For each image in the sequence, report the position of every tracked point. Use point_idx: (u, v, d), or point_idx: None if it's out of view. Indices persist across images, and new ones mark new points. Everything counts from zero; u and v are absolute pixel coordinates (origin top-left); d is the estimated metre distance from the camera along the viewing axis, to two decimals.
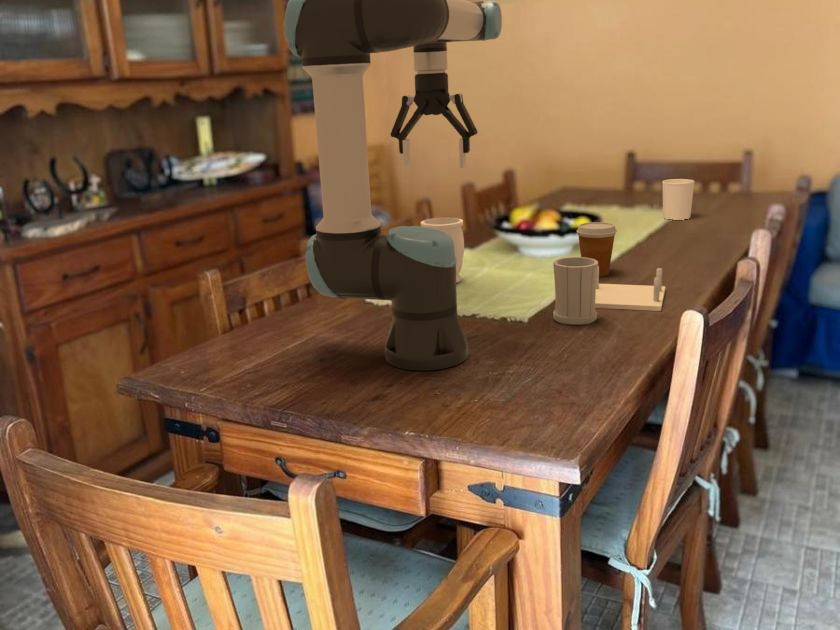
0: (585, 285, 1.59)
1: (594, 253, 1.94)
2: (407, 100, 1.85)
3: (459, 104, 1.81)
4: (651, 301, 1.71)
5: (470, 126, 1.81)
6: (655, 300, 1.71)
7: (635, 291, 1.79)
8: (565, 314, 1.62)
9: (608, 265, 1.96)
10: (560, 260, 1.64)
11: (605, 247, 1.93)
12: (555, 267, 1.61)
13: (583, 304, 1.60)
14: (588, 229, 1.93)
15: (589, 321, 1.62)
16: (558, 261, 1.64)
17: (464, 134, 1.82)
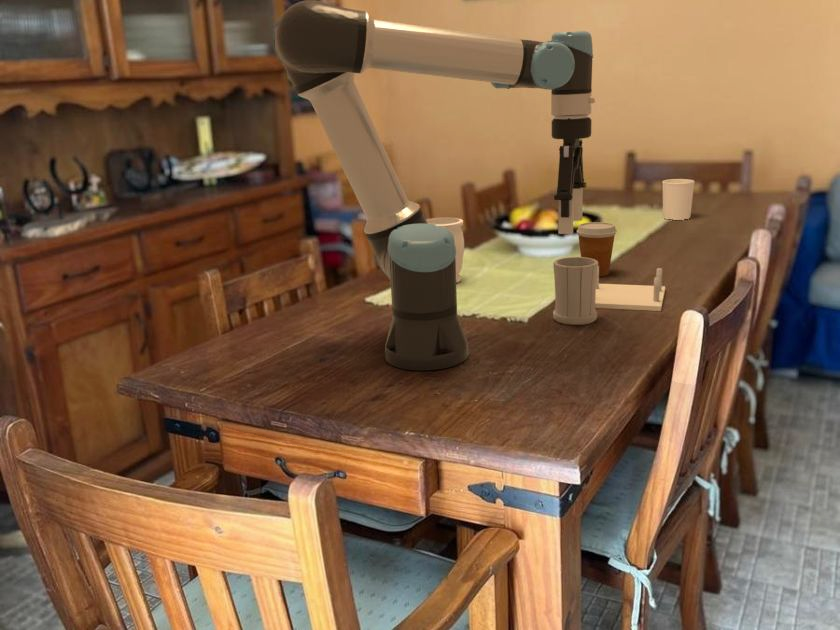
0: (585, 285, 1.59)
1: (594, 253, 1.94)
2: None
3: (559, 159, 1.51)
4: (651, 301, 1.71)
5: None
6: (655, 300, 1.71)
7: (635, 291, 1.79)
8: (565, 314, 1.62)
9: (608, 265, 1.96)
10: (560, 260, 1.64)
11: (605, 247, 1.93)
12: (555, 267, 1.61)
13: (583, 304, 1.60)
14: (588, 229, 1.93)
15: (589, 321, 1.62)
16: (558, 261, 1.64)
17: None
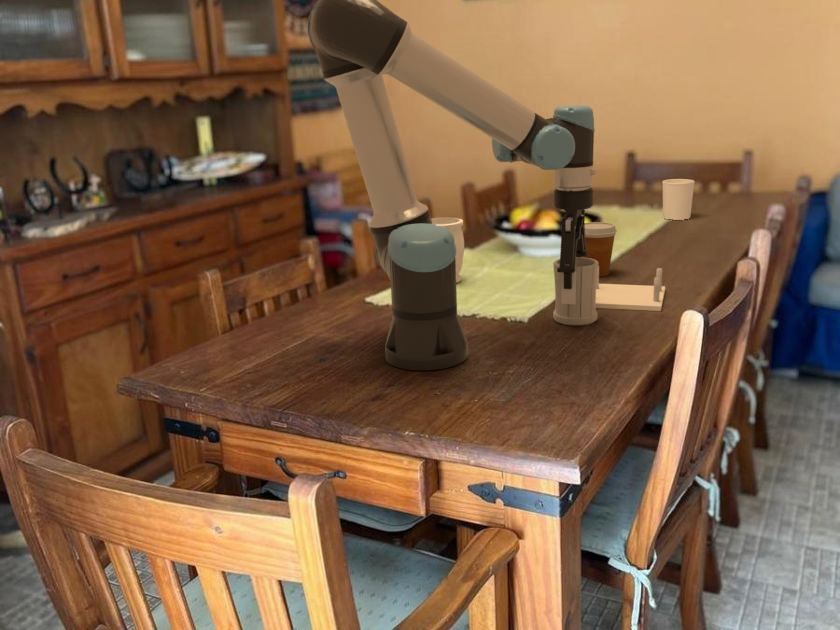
0: (586, 286, 1.59)
1: (594, 253, 1.94)
2: None
3: None
4: (651, 301, 1.71)
5: (560, 260, 1.55)
6: (655, 300, 1.71)
7: (635, 291, 1.79)
8: (565, 315, 1.61)
9: (608, 265, 1.96)
10: None
11: (605, 247, 1.93)
12: (555, 267, 1.61)
13: (583, 304, 1.60)
14: (588, 229, 1.93)
15: (589, 321, 1.61)
16: (558, 261, 1.64)
17: None
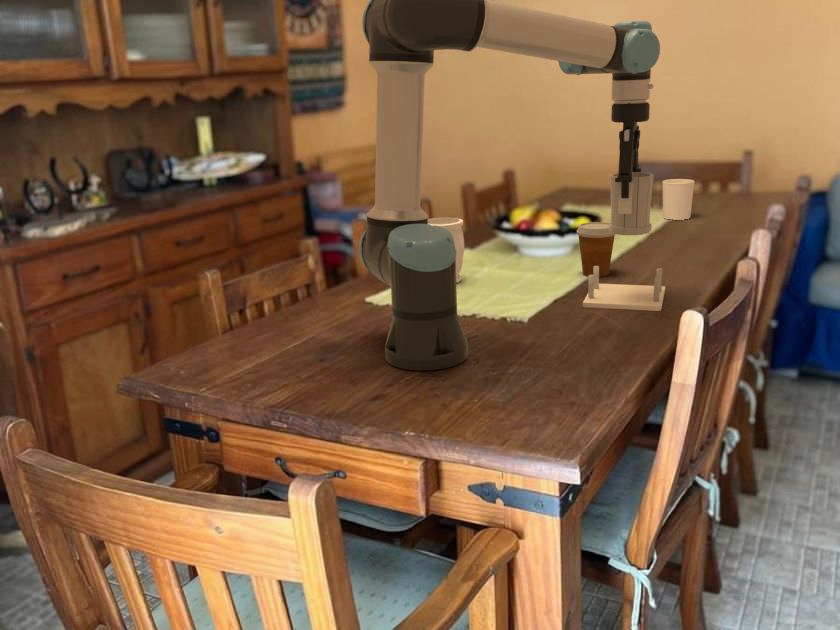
0: (642, 196, 1.66)
1: (594, 253, 1.94)
2: None
3: (620, 142, 1.62)
4: (651, 301, 1.71)
5: None
6: (655, 300, 1.71)
7: (635, 291, 1.79)
8: (621, 225, 1.68)
9: (608, 265, 1.96)
10: (616, 174, 1.71)
11: (605, 247, 1.93)
12: (612, 179, 1.67)
13: (639, 215, 1.67)
14: (588, 229, 1.93)
15: (645, 232, 1.68)
16: (614, 175, 1.70)
17: None
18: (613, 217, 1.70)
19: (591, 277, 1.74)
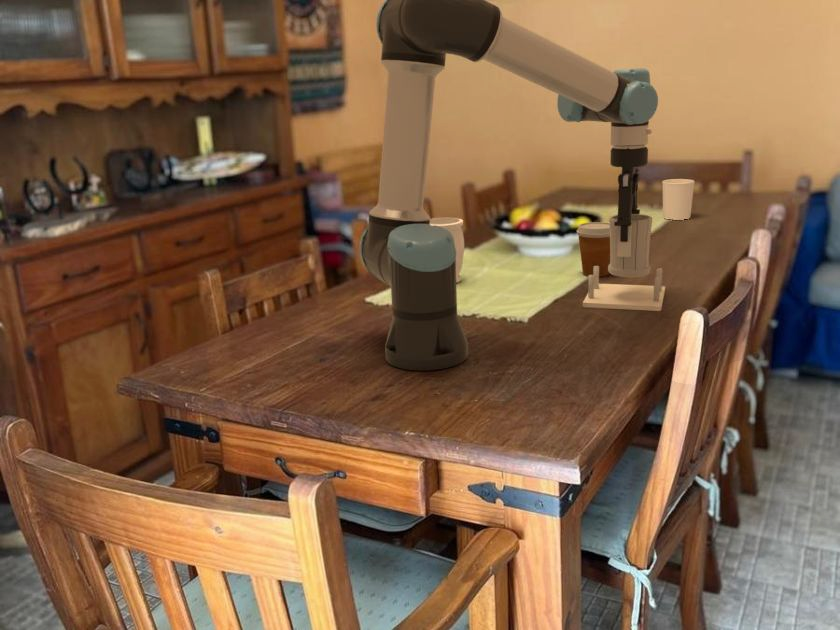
0: (641, 239, 1.68)
1: (594, 253, 1.94)
2: None
3: (619, 187, 1.64)
4: (651, 301, 1.71)
5: None
6: (655, 300, 1.71)
7: (635, 291, 1.79)
8: (620, 267, 1.71)
9: None
10: (615, 216, 1.74)
11: (605, 247, 1.93)
12: (611, 222, 1.70)
13: (638, 257, 1.69)
14: (588, 229, 1.93)
15: (644, 273, 1.71)
16: (613, 217, 1.73)
17: None
18: (612, 259, 1.72)
19: (591, 277, 1.74)
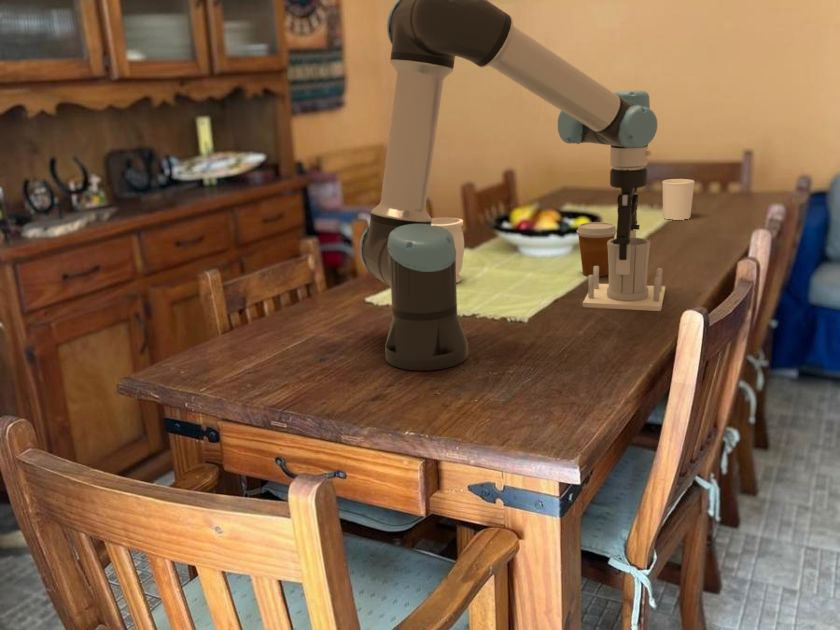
0: (639, 263, 1.70)
1: (594, 253, 1.94)
2: None
3: (618, 206, 1.65)
4: (651, 301, 1.71)
5: None
6: (655, 300, 1.71)
7: None
8: (619, 291, 1.72)
9: (608, 265, 1.96)
10: None
11: (605, 247, 1.93)
12: (610, 246, 1.71)
13: (636, 281, 1.71)
14: (588, 229, 1.93)
15: (642, 297, 1.72)
16: (611, 241, 1.74)
17: None
18: (611, 282, 1.74)
19: (591, 277, 1.74)
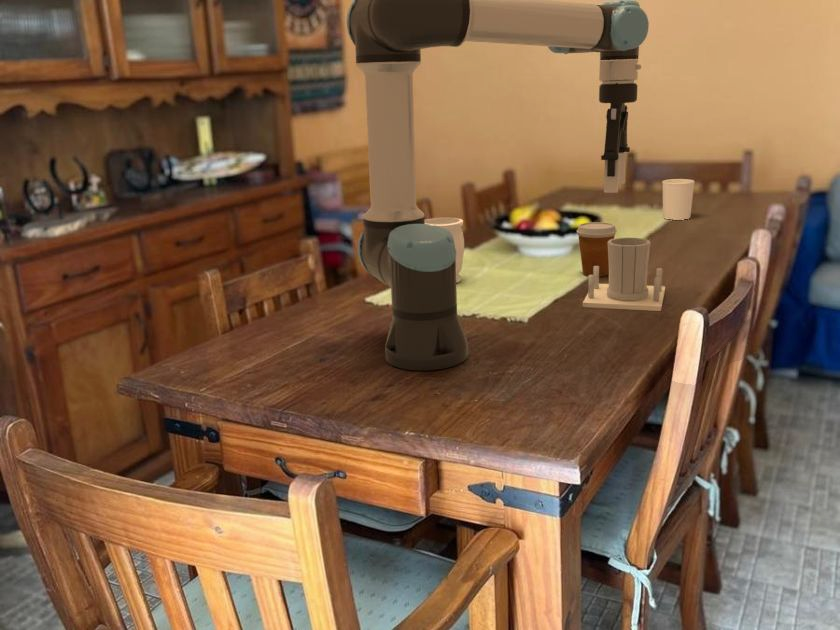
0: (639, 263, 1.70)
1: (594, 253, 1.94)
2: None
3: (607, 121, 1.60)
4: (651, 301, 1.71)
5: None
6: (655, 300, 1.71)
7: None
8: (619, 291, 1.72)
9: (608, 265, 1.96)
10: (613, 240, 1.75)
11: (605, 247, 1.93)
12: (610, 246, 1.71)
13: (637, 281, 1.71)
14: (588, 229, 1.93)
15: (642, 297, 1.72)
16: (612, 241, 1.74)
17: None
18: (611, 282, 1.74)
19: (591, 277, 1.74)
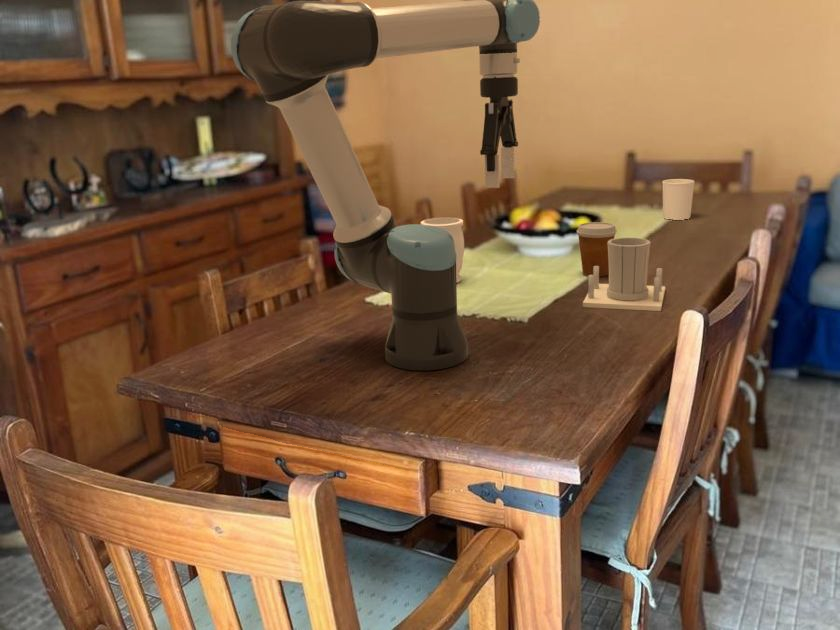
0: (639, 263, 1.70)
1: (594, 253, 1.94)
2: None
3: None
4: (651, 301, 1.71)
5: None
6: (655, 300, 1.71)
7: None
8: (619, 291, 1.72)
9: (608, 265, 1.96)
10: (613, 240, 1.75)
11: (605, 247, 1.93)
12: (610, 246, 1.71)
13: (637, 281, 1.71)
14: (588, 229, 1.93)
15: (642, 297, 1.72)
16: (612, 241, 1.74)
17: None
18: (611, 282, 1.74)
19: (591, 277, 1.74)
